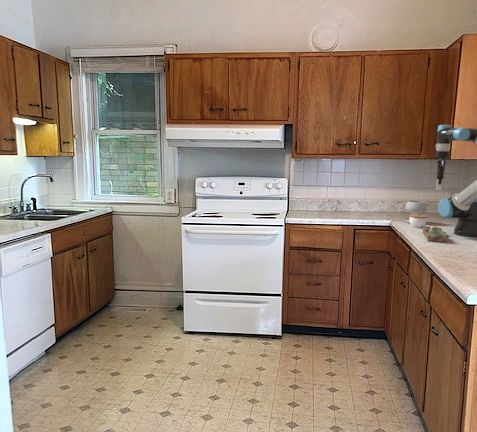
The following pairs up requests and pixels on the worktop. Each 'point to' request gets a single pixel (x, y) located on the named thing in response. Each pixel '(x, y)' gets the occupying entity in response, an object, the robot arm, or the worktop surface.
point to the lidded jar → (418, 220)
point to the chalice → (416, 207)
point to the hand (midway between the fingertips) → (438, 189)
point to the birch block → (435, 228)
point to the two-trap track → (434, 235)
